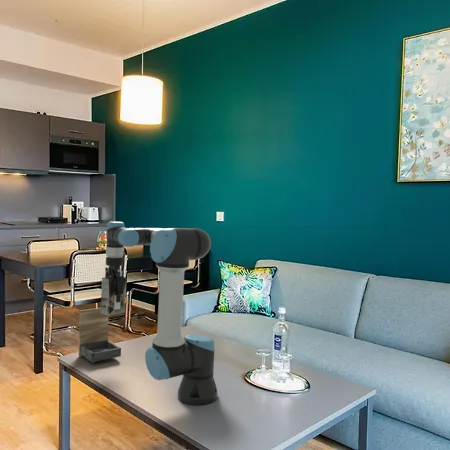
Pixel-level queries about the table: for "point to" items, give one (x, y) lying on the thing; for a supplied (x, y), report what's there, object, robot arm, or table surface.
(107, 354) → the grey and wood box
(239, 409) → the table surface
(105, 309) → the coffee box
